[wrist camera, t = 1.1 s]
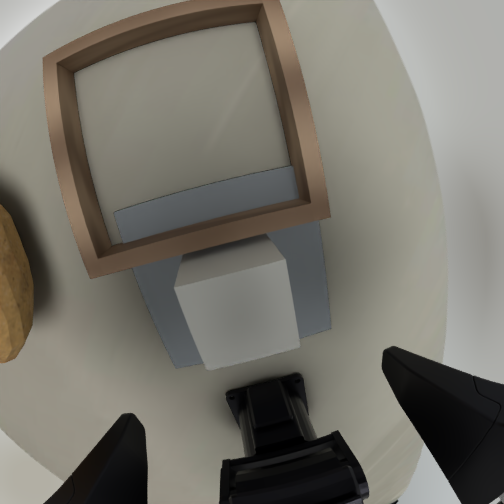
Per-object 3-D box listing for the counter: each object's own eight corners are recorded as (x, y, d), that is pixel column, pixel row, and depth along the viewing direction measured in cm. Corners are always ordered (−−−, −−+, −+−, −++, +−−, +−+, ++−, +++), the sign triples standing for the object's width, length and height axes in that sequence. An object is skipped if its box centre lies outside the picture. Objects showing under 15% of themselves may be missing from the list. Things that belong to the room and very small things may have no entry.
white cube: (278, 302, 19) (300, 347, 14) (206, 321, 18) (207, 370, 14) (264, 231, 17) (285, 259, 12) (183, 252, 17) (174, 287, 12)
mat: (329, 325, 20) (331, 328, 20) (176, 365, 20) (175, 368, 19) (306, 162, 16) (308, 162, 16) (115, 211, 16) (113, 212, 15)
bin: (315, 209, 17) (330, 217, 15) (104, 264, 16) (90, 279, 14) (267, 9, 13) (276, -10, 10) (60, 67, 12) (42, 57, 9)
